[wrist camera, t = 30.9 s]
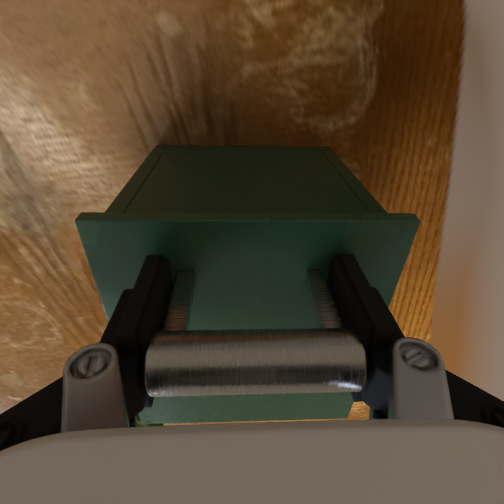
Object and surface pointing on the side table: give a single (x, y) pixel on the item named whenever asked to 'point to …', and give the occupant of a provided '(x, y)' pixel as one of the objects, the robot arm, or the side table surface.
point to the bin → (243, 182)
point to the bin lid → (248, 307)
